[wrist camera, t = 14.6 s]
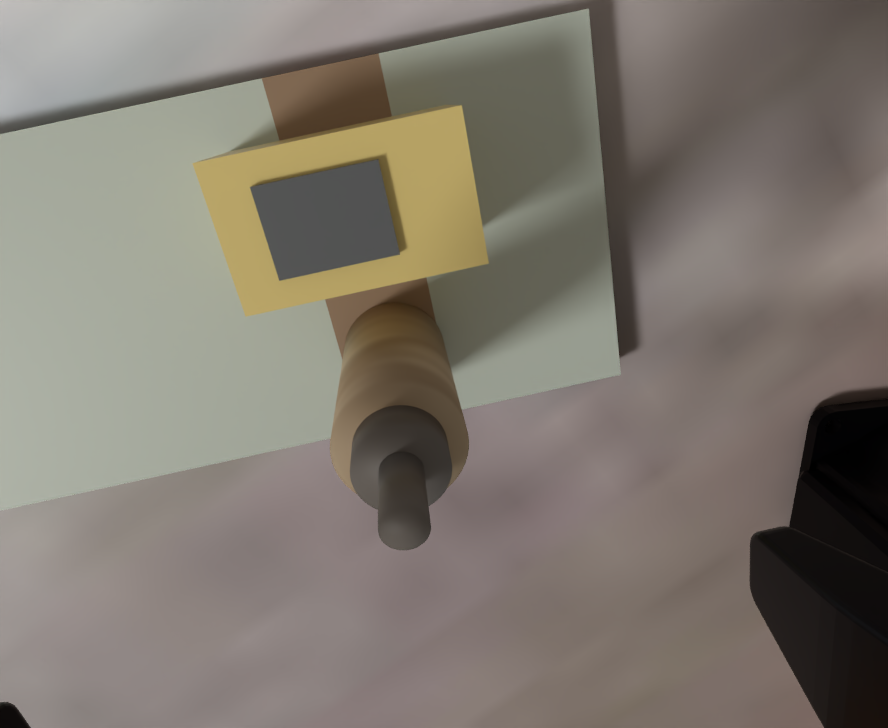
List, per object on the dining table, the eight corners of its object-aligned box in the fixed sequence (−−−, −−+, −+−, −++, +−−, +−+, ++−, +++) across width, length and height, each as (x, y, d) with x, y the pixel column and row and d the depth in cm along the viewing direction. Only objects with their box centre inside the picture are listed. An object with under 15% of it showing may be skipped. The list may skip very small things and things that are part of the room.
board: (578, 13, 14) (589, 8, 13) (610, 363, 18) (620, 374, 17) (-193, 178, 14) (-224, 182, 13) (-3, 497, 18) (-19, 515, 17)
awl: (440, 297, 16) (485, 445, 9) (447, 389, 17) (492, 584, 10) (338, 307, 16) (304, 465, 9) (351, 399, 17) (330, 604, 10)
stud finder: (445, 104, 14) (462, 104, 11) (469, 234, 15) (490, 265, 12) (229, 151, 14) (189, 164, 11) (270, 278, 15) (244, 319, 12)
